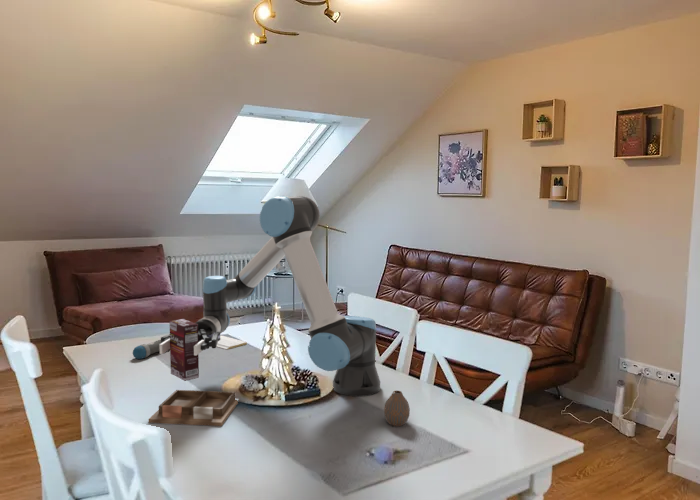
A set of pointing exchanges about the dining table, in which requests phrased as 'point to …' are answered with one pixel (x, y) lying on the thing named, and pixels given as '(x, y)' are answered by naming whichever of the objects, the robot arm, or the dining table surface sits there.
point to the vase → (396, 409)
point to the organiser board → (195, 408)
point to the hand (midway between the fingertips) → (177, 349)
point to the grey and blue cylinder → (146, 349)
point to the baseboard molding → (229, 343)
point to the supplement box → (184, 349)
